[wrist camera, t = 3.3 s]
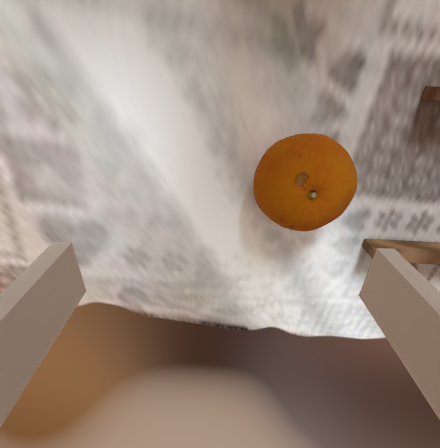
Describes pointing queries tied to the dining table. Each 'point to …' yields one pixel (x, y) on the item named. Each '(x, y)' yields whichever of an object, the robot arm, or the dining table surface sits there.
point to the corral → (411, 249)
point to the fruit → (305, 181)
